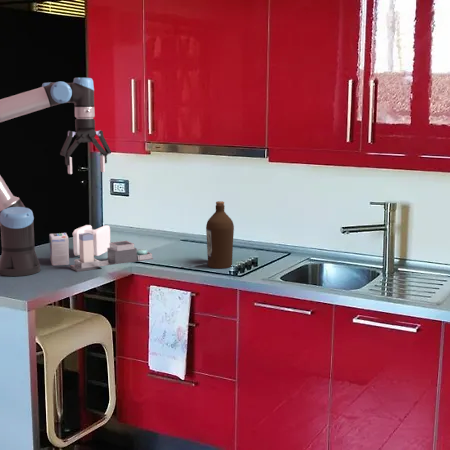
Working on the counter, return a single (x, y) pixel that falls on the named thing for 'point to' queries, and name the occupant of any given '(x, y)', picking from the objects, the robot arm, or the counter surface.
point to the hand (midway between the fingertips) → (86, 172)
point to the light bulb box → (59, 249)
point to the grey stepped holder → (113, 257)
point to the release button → (141, 251)
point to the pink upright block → (86, 247)
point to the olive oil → (220, 238)
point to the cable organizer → (99, 239)
